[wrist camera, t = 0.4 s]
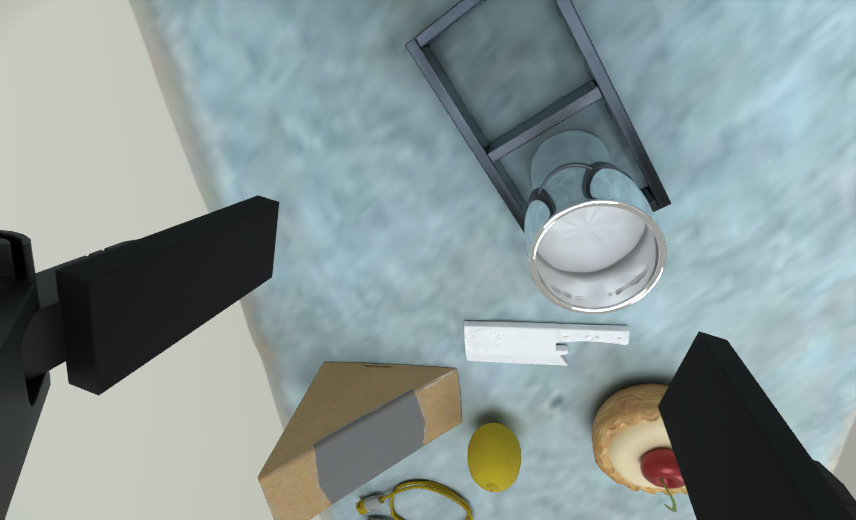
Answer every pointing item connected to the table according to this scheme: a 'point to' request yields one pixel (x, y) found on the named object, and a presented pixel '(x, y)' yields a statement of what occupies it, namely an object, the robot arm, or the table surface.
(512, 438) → the lemon
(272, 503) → the sandwich container
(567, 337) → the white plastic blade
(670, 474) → the pastry
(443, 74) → the black divided tray
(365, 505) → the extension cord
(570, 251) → the beer glass
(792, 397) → the table surface
